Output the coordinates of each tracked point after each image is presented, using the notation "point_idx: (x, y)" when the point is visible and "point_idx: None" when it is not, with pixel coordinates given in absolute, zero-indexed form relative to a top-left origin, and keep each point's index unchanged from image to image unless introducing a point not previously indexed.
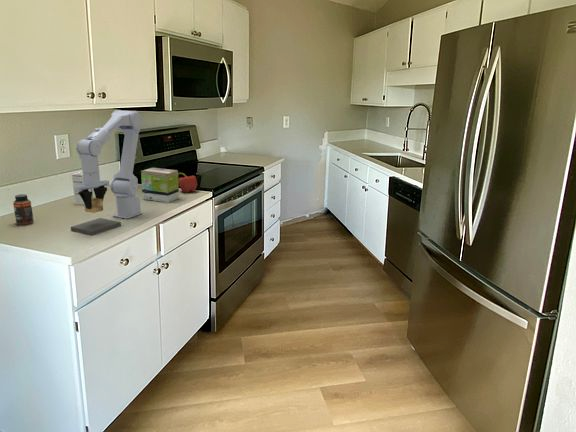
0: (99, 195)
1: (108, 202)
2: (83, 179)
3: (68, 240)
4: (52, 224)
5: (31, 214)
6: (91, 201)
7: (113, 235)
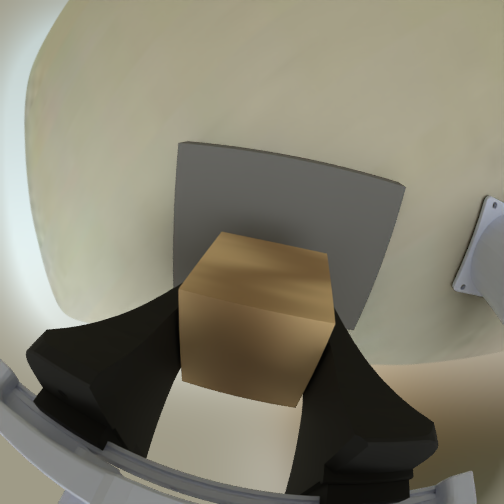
0: (308, 414)
1: None
2: None
3: (102, 233)
4: None
5: None
6: (181, 370)
7: None
